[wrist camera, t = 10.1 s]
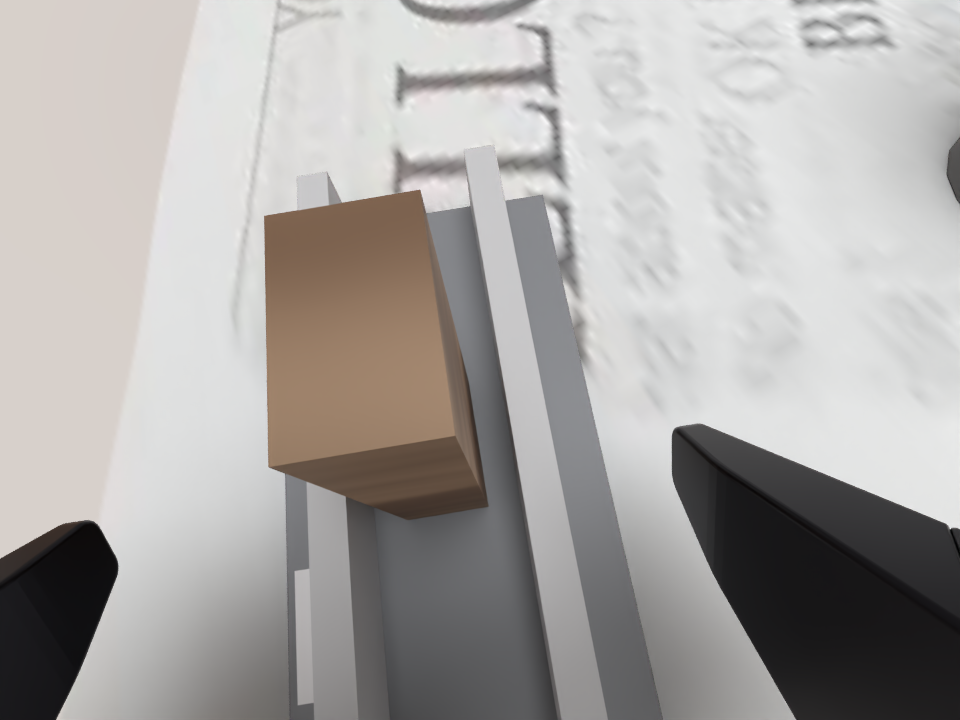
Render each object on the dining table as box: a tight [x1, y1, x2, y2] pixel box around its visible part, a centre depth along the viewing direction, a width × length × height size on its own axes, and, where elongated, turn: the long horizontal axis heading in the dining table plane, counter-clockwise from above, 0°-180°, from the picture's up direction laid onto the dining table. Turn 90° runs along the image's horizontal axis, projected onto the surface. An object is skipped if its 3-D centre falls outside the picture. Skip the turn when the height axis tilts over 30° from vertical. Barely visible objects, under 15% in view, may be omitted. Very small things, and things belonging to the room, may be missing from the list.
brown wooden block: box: [264, 190, 489, 520], centre depth 13 cm, size 5×2×10 cm, turn 9°
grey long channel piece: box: [285, 145, 663, 720], centre depth 16 cm, size 18×10×4 cm, turn 8°
